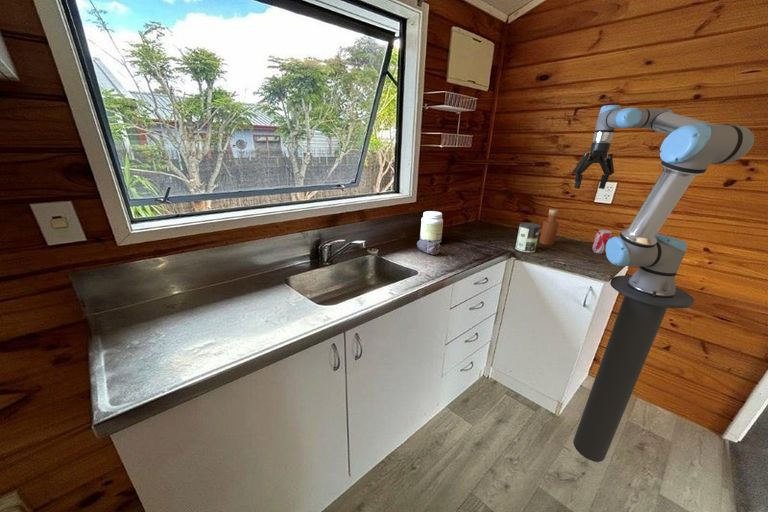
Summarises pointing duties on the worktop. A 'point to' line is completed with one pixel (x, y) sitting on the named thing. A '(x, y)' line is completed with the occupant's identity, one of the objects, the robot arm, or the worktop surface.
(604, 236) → the soda can
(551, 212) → the stopper
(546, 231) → the bottle
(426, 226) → the supplement tub
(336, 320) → the worktop surface
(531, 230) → the coffee can
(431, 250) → the perforated stone tool
